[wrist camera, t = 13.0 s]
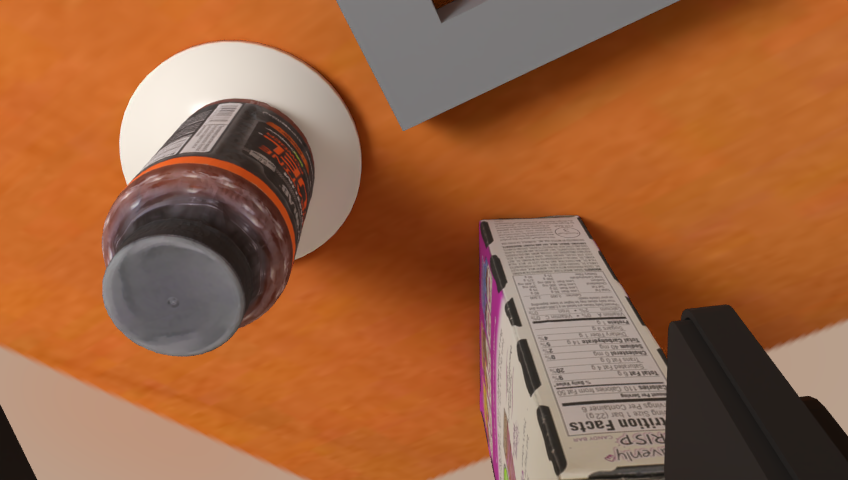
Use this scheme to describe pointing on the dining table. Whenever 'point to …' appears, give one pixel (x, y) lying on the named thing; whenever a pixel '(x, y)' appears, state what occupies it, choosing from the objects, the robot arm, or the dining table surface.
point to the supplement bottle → (208, 228)
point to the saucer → (262, 81)
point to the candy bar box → (564, 359)
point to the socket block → (473, 43)
